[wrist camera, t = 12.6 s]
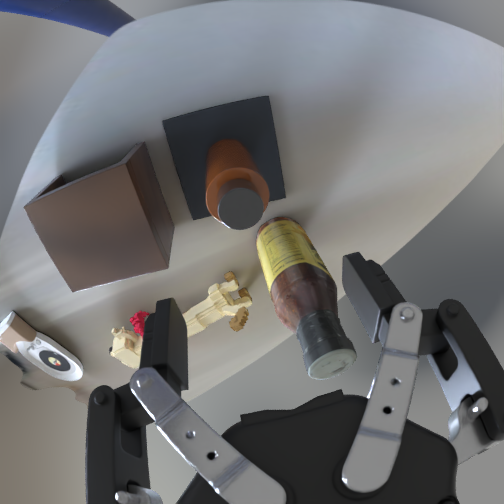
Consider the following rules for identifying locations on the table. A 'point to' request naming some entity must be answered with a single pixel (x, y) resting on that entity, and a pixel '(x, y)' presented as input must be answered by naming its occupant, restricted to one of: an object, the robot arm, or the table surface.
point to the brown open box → (105, 223)
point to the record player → (39, 349)
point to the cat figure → (187, 319)
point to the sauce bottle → (304, 297)
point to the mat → (219, 128)
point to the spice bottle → (234, 185)
